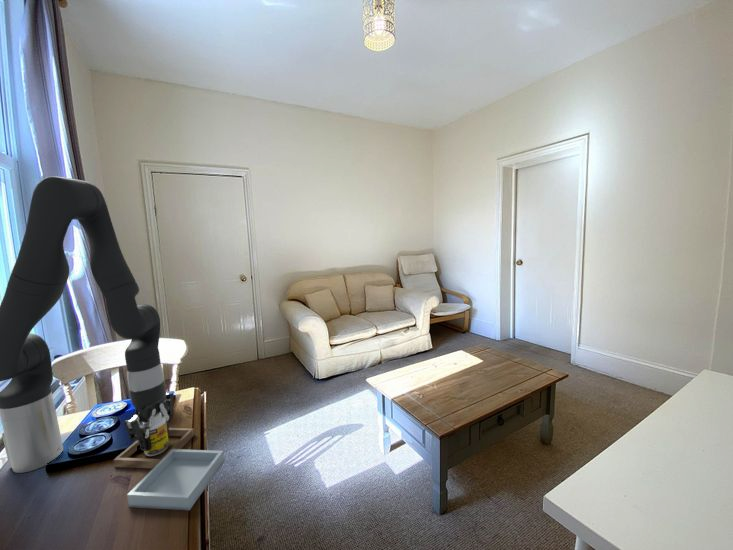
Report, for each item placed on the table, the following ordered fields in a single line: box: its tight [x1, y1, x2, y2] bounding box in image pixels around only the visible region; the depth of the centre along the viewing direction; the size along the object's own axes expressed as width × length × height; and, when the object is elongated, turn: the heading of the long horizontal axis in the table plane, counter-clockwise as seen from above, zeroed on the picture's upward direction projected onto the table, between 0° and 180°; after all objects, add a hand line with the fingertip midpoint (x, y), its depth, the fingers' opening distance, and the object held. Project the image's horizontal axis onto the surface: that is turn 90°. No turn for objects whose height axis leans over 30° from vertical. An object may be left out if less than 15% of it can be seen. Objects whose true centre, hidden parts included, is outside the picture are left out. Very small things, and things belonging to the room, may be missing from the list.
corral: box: [113, 427, 195, 470], centre depth 83 cm, size 13×13×2 cm
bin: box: [126, 448, 225, 511], centre depth 72 cm, size 14×14×3 cm
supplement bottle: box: [142, 412, 170, 457], centre depth 82 cm, size 6×6×10 cm
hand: (155, 441), depth 83 cm, fingers closed on supplement bottle, 5 cm apart
